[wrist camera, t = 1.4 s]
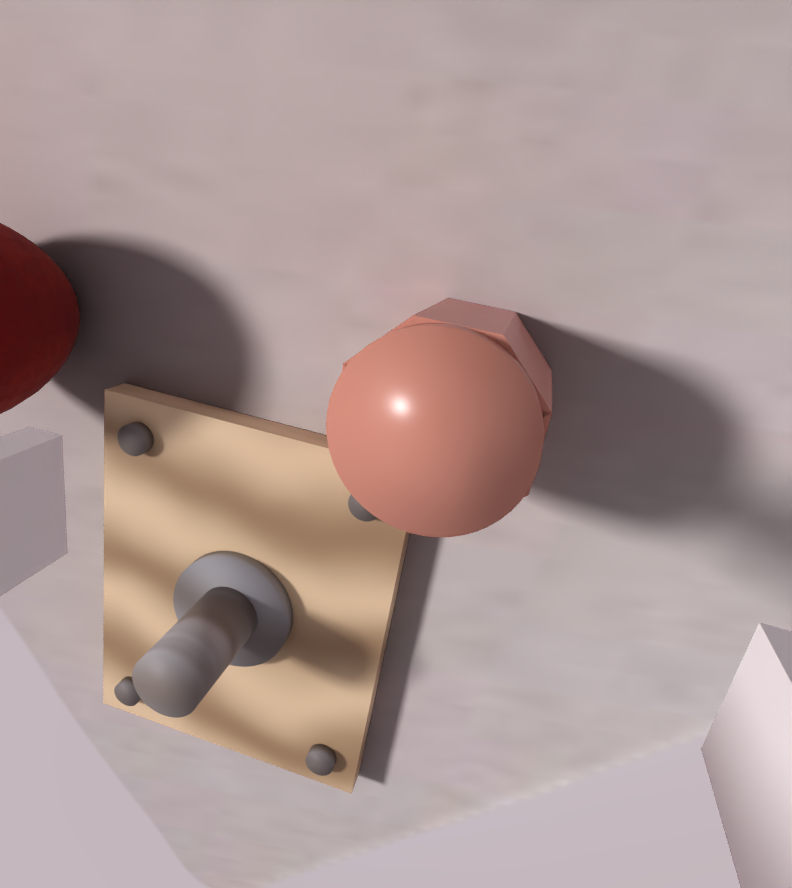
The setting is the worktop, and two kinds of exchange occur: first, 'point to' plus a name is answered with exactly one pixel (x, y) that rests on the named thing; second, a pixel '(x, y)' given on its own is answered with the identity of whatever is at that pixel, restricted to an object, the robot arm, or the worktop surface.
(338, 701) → the stud plate
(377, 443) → the cap
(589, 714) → the worktop surface
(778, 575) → the worktop surface
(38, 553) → the robot arm
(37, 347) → the apple
